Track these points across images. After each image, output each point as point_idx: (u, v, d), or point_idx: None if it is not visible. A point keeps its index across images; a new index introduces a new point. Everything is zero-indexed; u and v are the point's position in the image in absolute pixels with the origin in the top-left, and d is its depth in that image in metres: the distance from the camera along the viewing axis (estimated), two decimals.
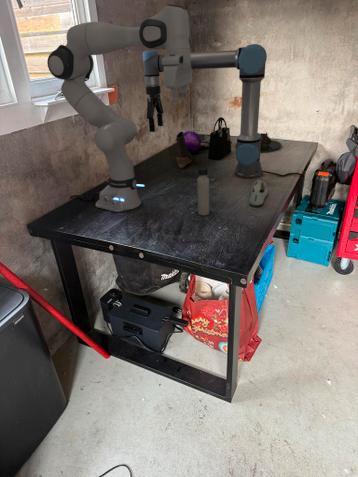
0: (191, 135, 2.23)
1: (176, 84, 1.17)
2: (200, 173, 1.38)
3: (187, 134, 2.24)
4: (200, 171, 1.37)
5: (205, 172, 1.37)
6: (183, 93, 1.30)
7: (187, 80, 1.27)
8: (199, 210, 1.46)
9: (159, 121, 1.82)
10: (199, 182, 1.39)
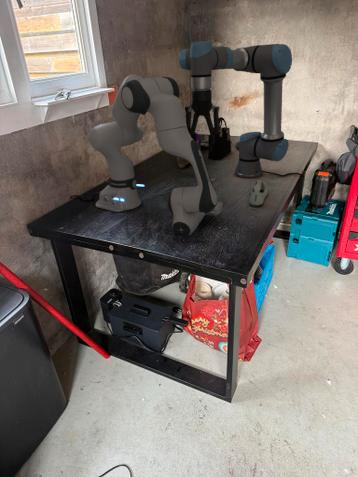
0: None
1: None
2: None
3: None
4: None
5: None
6: None
7: None
8: None
9: None
10: None
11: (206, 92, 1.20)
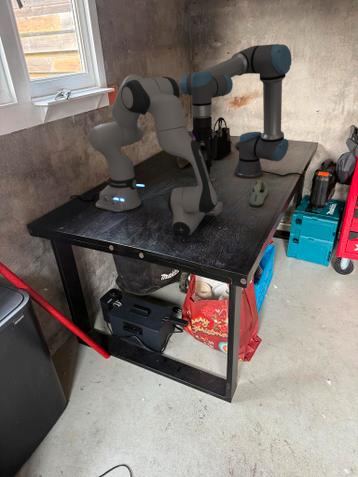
0: None
1: None
2: None
3: None
4: None
5: None
6: None
7: None
8: None
9: None
10: None
11: (206, 119, 1.25)
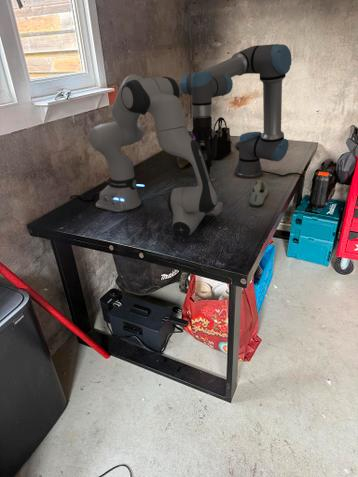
0: None
1: None
2: None
3: None
4: None
5: None
6: None
7: None
8: None
9: None
10: None
11: (206, 119, 1.25)
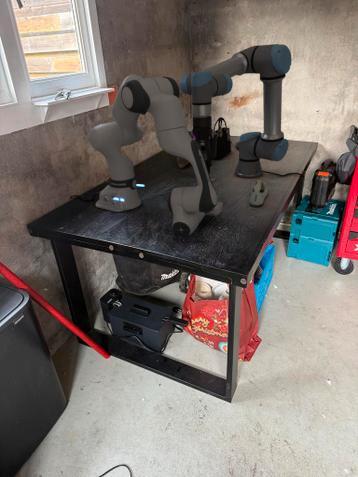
0: None
1: None
2: None
3: None
4: None
5: None
6: None
7: None
8: None
9: None
10: None
11: (206, 119, 1.25)
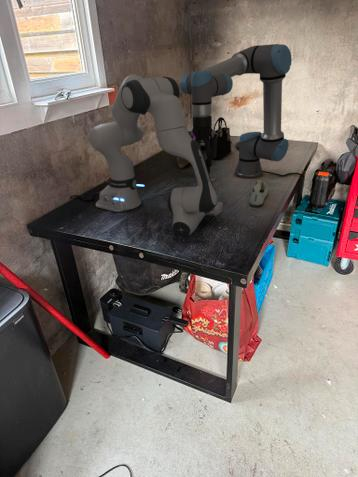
0: None
1: None
2: None
3: None
4: None
5: None
6: None
7: None
8: None
9: None
10: None
11: (206, 119, 1.25)
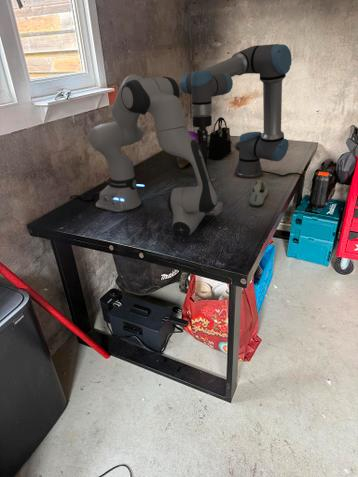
0: (191, 135, 2.23)
1: None
2: None
3: None
4: (207, 168, 1.38)
5: None
6: None
7: None
8: None
9: None
10: None
11: None
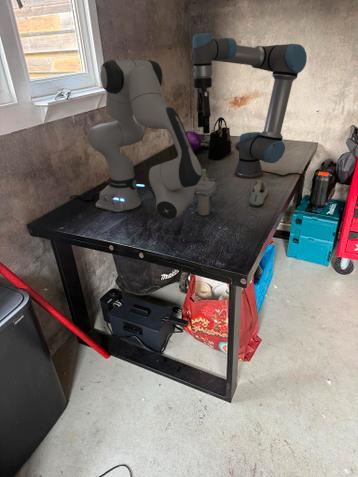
0: (191, 135, 2.23)
1: None
2: None
3: (187, 134, 2.24)
4: None
5: None
6: None
7: None
8: (199, 210, 1.46)
9: (200, 121, 1.51)
10: None
11: None
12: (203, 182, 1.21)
